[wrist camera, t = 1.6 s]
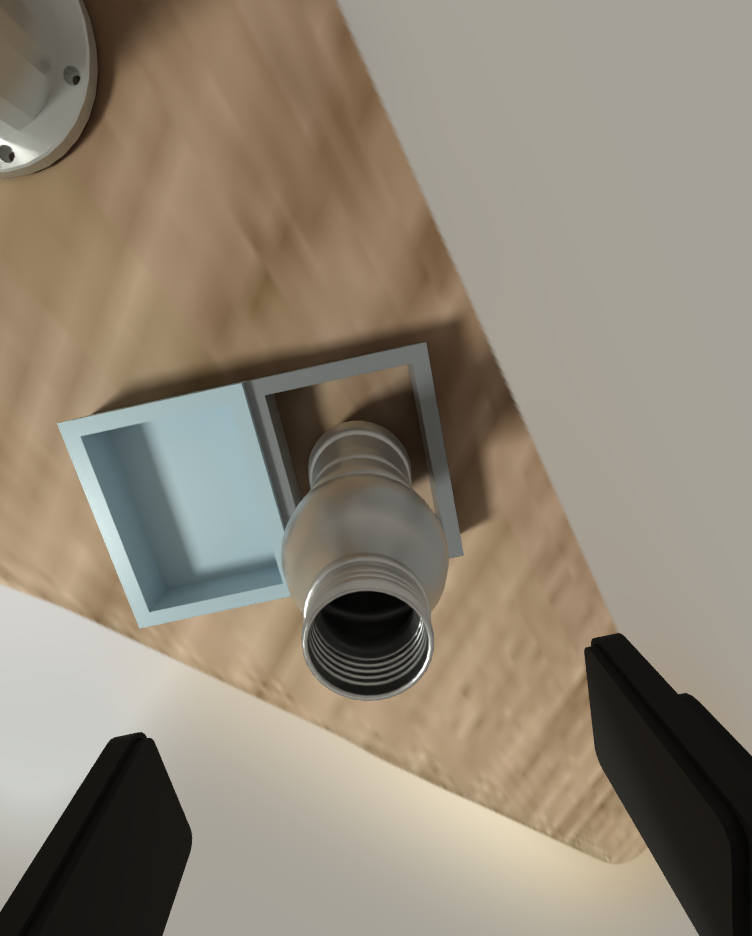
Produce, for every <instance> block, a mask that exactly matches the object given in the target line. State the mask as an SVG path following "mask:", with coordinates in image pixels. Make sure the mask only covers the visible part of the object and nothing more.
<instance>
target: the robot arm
mask: <svg viewBox="0 0 752 936" xmlns="http://www.w3.org/2000/svg"><path fill="white" fill-rule="evenodd" d="M97 77H98V64H97V49H96V42H95V38H94V33H93V29H92V24H91V20H90V17H89V14H88V12H87V9H86V7H85V4H84V2H83V0H0V178H12V177H18V176H24V175H29V174H32V173H34V172H36V171H39V170H41V169H44V168H46V167H48V166H50V165H51V164H52V163H54V162H55V161H56V160H58V159H59V158H61V157H62V156H63V155H65V154H66V152H67V151H68V150H69V149H70V148H71V147H72V145H73V144H74V143H75V142H76V141H77V140H78V138H79V136H80V135H81V133H82V131H83V129H84V127H85V125H86V123H87V122H88V120H89V117H90V113H91V110H92V107H93V103H94V100H95V96H96V87H97ZM78 82H79V83H78ZM584 654H585V663H586V672H587V681H588V691H589V700H590V709H591V718H592V727H593V736H594V745H595V751H596V755H597V757H598V760H599V763H600V765H601V767H602V769H603V771H604V772H605V774H606V776H607V778H608V779H609V781H610V783H611V784H612V786H613V788H614V790H615V791H616V793H617V795H618V796H619V798H620V800H621V802H622V803H623V805H624V807H625V809H626V810H627V812H628V814H629V815H630V817H631V819H632V821H633V822H634V824H635V826H636V827H637V829H638V831H639V833H640V834H641V836H642V838H643V840H644V841H645V843H646V845H647V846H648V848H649V850H650V852H651V853H652V855H653V857H654V858H655V860H656V862H657V863H658V865H659V867H660V869H661V870H662V872H663V874H664V876H665V877H666V879H667V881H668V883H669V884H670V886H671V888H672V889H673V891H674V893H675V895H676V896H677V898H678V900H679V901H680V903H681V905H682V906H683V908H684V910H685V912H686V914H687V915H688V917H689V919H690V920H691V922H692V924H693V925H694V927H695V929H696V931H697V932H698V934H699V936H752V756H751V755H750V754H749V753H748V752H747V751H746V750H745V749H744V748H743V747H742V746H741V745H740V743H738V741H737V740H736V739H735V738H734V737H733V736H732V735H731V734H730V733H729V732H728V731H727V730H726V729H725V728H724V727H723V726H722V725H721V724H720V723H719V722H718V721H717V720H716V719H715V718H714V717H713V715H711V713H710V712H709V711H708V710H707V709H706V708H705V707H704V706H703V705H702V704H701V703H700V702H699V701H698V700H697V699H695V698H694V697H693V696H691V695H689V694H687V693H683V694H677V693H676V691H675V690H674V689H673V688H672V687H671V686H670V685H669V684H668V683H667V682H666V681H665V680H664V678H663V677H662V676H661V675H660V674H659V673H658V672H657V671H656V670H655V669H654V668H653V667H652V666H651V664H650V663H649V662H648V661H647V660H646V659H645V658H644V657H643V656H642V655H641V654H640V653H639V651H638V650H637V649H636V648H635V647H634V646H633V645H632V644H631V643H630V642H629V641H628V640H627V639H626V637H625V636H623V635H622V634H620V633H616V634H612V635H607V636H602V637H597V638H593V639H592V641H591V647H586V648H585V650H584ZM191 845H192V833H191V829H190V826H189V824H188V822H187V819H186V817H185V814H184V812H183V809H182V807H181V805H180V802H179V800H178V798H177V795H176V793H175V790H174V788H173V785H172V783H171V781H170V778H169V776H168V773H167V771H166V769H165V766H164V764H163V761H162V759H161V756H160V754H159V752H158V749H157V747H156V745H155V742H154V741H153V739H151V738H147V737H146V735H145V734H144V733H142V732H139V733H133V734H129V735H124V736H119V737H115V738H113V739H111V740H110V741H109V742H108V743H107V745H106V747H105V748H104V750H103V751H102V753H101V754H100V756H99V757H98V759H97V761H96V762H95V764H94V766H93V767H92V768H91V770H90V772H89V773H88V775H87V776H86V778H85V780H84V781H83V783H82V784H81V786H80V787H79V789H78V790H77V792H76V794H75V795H74V797H73V798H72V800H71V802H70V803H69V805H68V806H67V808H66V809H65V811H64V812H63V814H62V816H61V817H60V819H59V820H58V822H57V824H56V825H55V827H54V828H53V830H52V832H51V833H50V834H49V836H48V838H47V839H46V841H45V843H44V844H43V846H42V847H41V849H40V850H39V852H38V853H37V855H36V857H35V858H34V860H33V861H32V863H31V864H30V866H29V868H28V869H27V871H26V872H25V874H24V875H23V877H22V879H21V880H20V882H19V883H18V885H17V886H16V888H15V890H14V891H13V893H12V895H11V896H10V898H9V899H8V901H7V902H6V904H5V905H4V907H3V909H2V910H1V912H0V936H162V935H163V932H164V929H165V926H166V923H167V920H168V917H169V914H170V911H171V908H172V905H173V902H174V899H175V896H176V893H177V890H178V887H179V884H180V881H181V878H182V875H183V872H184V869H185V866H186V863H187V860H188V857H189V854H190V851H191Z"/></svg>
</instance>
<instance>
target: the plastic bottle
mask: <svg viewBox="0 0 752 936" xmlns="http://www.w3.org/2000/svg"><path fill="white" fill-rule="evenodd" d="M308 474H309V483H310V487H311V490H310V491H309V493H308V494H307V495H306V496H305V497H304V498H303V499H302V501H301V502H300V503H299V504H298V506H297V507H296V509H295V511H294V512H293V514H292V516H291V518H290V520H289V521H288V523H287V526H286V529H285V532H284V534H283V537H282V545H281V563H282V570H283V573H284V577H285V580H286V583H287V586H288V589H289V592H290V595H291V596H292V598H293V600H294V602H295V603H296V605H297V607H298V608H299V609H300V610H301V611H302V612H303V618H304V624H303V630H302V647H303V655H304V657H305V660H306V663H307V665H308V667H309V669H310V671H311V672H312V674H313V675H314V676H315V677H316V678H317V679H318V681H319V682H320V683H321V684H323V685H324V686H325V687H327V688H328V689H329V690H331V691H333V692H335V693H337V694H339V695H341V696H344V697H347V698H351V699H355V700H363V701H373V700H382V699H387V698H391V697H393V696H396V695H398V694H401V693H403V692H404V691H406V690H407V689H409V688H411V687H412V686H413V685H414V684H415V683H416V682H417V681H419V680H420V678H421V677H422V676H423V674H424V673H425V672H426V670H427V668H428V666H429V664H430V662H431V659H432V654H433V649H434V633H433V629H432V625H431V612H432V611H433V609H434V608H435V606H436V605H437V603H438V602H439V600H440V597H441V595H442V593H443V590H444V587H445V582H446V577H447V571H448V565H449V549H448V545H447V540H446V536H445V533H444V531H443V529H442V526H441V524H440V522H439V520H438V519H437V517H436V516H435V514H434V513H433V511H432V510H431V509H430V507H429V506H428V504H427V503H426V502H425V500H424V499H422V498H421V497H420V496H419V495H418V494H417V493H416V492H415V491H414V490H413V489H412V488H411V464H410V460H409V456H408V454H407V452H406V449H405V447H404V446H403V444H402V443H401V442H400V440H399V439H398V438H397V437H396V436H395V435H394V434H393V433H392V432H390V431H389V430H387V429H386V428H384V427H382V426H380V425H377V424H375V423H372V422H366V421H349V422H344V423H341V424H339V425H336V426H334V427H332V428H331V429H329V430H328V431H326V432H325V433H324V434H323V435H322V436H321V437H320V438H319V439H318V440H317V442H316V444H315V445H314V447H313V449H312V451H311V454H310V457H309V464H308Z"/></svg>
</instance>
